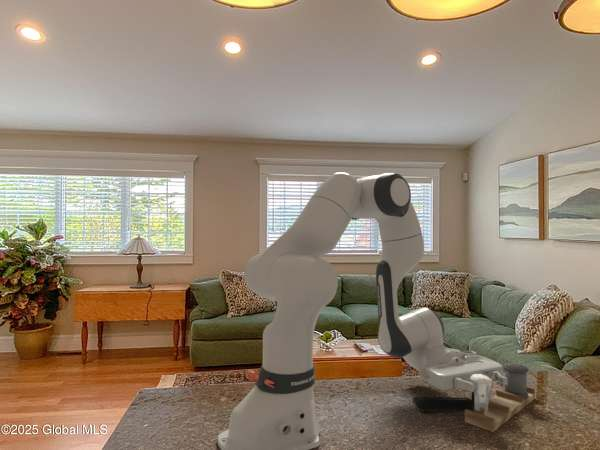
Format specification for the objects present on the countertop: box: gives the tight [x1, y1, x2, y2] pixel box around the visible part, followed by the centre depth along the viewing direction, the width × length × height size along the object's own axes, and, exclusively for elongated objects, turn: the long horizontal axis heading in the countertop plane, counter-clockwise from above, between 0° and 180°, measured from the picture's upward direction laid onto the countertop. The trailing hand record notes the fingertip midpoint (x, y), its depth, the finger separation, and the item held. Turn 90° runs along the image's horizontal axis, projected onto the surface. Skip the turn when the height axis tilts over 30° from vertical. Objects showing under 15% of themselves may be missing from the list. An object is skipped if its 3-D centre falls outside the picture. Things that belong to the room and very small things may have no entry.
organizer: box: [464, 385, 536, 433], centre depth 101 cm, size 26×6×3 cm, turn 132°
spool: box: [502, 362, 529, 398], centre depth 107 cm, size 6×6×7 cm
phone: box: [412, 396, 472, 415], centre depth 102 cm, size 8×1×15 cm
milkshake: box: [470, 373, 495, 416], centre depth 95 cm, size 4×5×10 cm
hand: (490, 385), depth 95 cm, fingers open, 8 cm apart
